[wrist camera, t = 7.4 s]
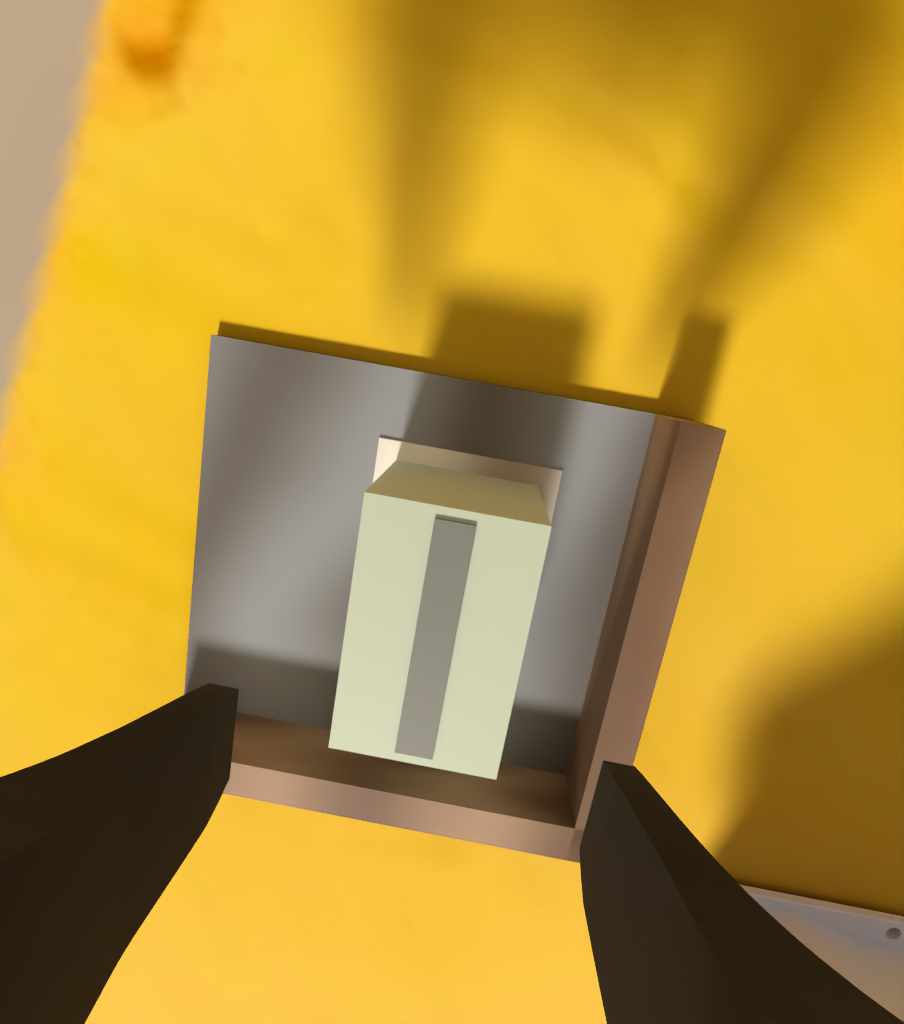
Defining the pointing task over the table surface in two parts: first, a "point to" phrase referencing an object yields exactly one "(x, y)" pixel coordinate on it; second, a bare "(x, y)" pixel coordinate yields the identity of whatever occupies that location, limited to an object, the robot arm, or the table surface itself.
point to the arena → (330, 563)
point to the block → (438, 617)
